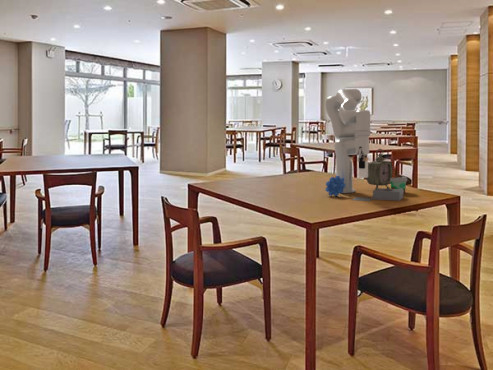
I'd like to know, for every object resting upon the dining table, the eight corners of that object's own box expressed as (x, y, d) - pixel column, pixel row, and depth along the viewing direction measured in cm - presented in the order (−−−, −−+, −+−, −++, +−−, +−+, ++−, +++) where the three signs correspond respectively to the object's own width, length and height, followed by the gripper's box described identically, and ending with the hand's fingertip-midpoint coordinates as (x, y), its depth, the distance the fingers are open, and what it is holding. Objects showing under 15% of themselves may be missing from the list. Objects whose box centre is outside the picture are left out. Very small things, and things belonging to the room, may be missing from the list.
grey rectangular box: (372, 200, 264) (372, 190, 263) (377, 197, 273) (377, 188, 272) (399, 201, 257) (399, 192, 257) (403, 198, 266) (403, 189, 265)
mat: (351, 201, 264) (351, 199, 264) (356, 197, 272) (356, 196, 272) (369, 202, 259) (369, 200, 259) (374, 198, 268) (374, 197, 268)
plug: (358, 177, 263) (357, 158, 261) (360, 176, 267) (360, 157, 265) (366, 177, 261) (366, 158, 259) (368, 176, 265) (368, 157, 263)
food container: (399, 196, 273) (399, 178, 272) (389, 195, 278) (389, 177, 276) (411, 193, 281) (411, 176, 279) (402, 192, 285) (402, 175, 284)
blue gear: (347, 195, 282) (347, 174, 281) (344, 197, 276) (344, 176, 274) (327, 194, 287) (326, 174, 285) (324, 196, 280) (324, 175, 279)
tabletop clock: (378, 192, 288) (378, 150, 284) (365, 191, 295) (365, 149, 291) (392, 189, 297) (392, 148, 294) (379, 188, 304) (380, 147, 300)
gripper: (360, 133, 270) (360, 166, 272) (351, 134, 255) (351, 169, 258) (374, 132, 266) (374, 166, 269) (365, 134, 252) (365, 169, 254)
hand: (363, 167), depth 263 cm, fingers closed on plug, 4 cm apart
